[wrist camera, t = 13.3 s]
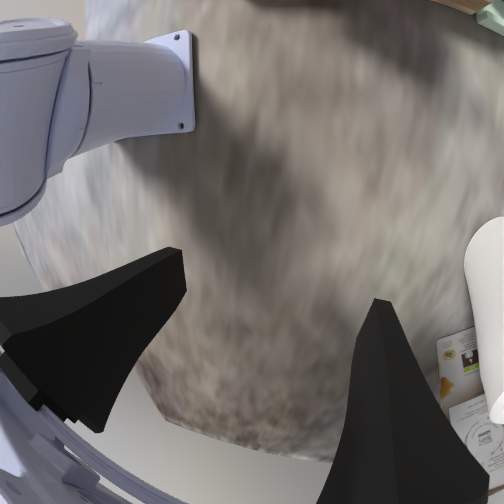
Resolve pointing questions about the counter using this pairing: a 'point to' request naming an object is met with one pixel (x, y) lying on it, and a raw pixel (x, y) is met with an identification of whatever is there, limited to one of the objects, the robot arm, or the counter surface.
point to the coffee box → (470, 403)
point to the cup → (488, 309)
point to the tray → (492, 16)
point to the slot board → (466, 5)
